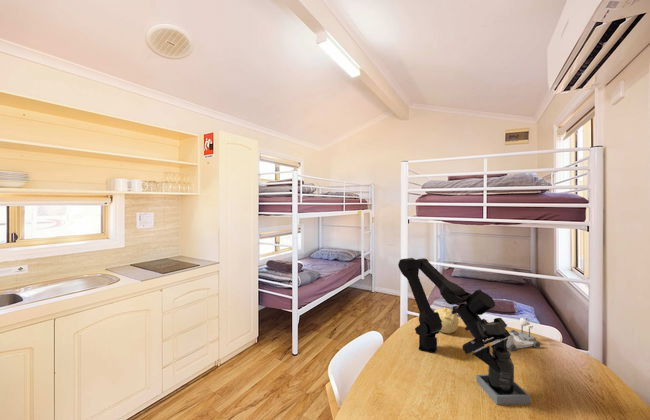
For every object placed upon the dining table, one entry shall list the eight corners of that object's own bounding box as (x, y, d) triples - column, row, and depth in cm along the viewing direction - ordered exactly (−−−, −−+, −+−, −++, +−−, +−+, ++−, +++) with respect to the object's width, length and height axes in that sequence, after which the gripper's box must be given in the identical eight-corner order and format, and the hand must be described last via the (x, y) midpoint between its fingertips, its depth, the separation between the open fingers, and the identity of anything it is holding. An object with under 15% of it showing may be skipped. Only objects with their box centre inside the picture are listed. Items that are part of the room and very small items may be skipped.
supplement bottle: (515, 388, 82) (516, 351, 83) (511, 398, 78) (512, 358, 78) (490, 378, 87) (491, 342, 88) (485, 387, 83) (486, 349, 83)
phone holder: (519, 314, 121) (545, 324, 109) (519, 334, 121) (545, 347, 109) (487, 317, 117) (510, 329, 106) (487, 339, 117) (510, 353, 106)
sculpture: (457, 338, 117) (457, 315, 117) (429, 331, 123) (429, 309, 123) (459, 328, 127) (459, 306, 127) (434, 323, 133) (433, 302, 133)
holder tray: (497, 404, 77) (497, 396, 77) (476, 382, 88) (476, 374, 88) (530, 404, 78) (530, 395, 78) (506, 381, 88) (506, 374, 88)
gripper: (471, 315, 82) (508, 369, 72) (504, 305, 90) (542, 352, 80) (449, 329, 89) (480, 380, 79) (482, 319, 97) (514, 363, 88)
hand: (505, 368), depth 81 cm, fingers closed on supplement bottle, 6 cm apart
